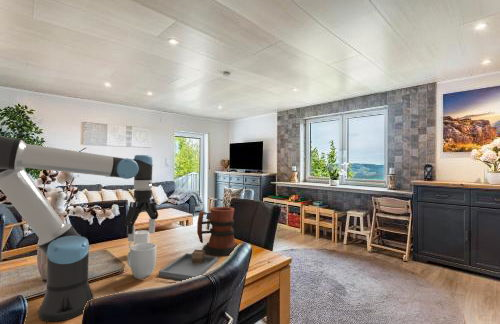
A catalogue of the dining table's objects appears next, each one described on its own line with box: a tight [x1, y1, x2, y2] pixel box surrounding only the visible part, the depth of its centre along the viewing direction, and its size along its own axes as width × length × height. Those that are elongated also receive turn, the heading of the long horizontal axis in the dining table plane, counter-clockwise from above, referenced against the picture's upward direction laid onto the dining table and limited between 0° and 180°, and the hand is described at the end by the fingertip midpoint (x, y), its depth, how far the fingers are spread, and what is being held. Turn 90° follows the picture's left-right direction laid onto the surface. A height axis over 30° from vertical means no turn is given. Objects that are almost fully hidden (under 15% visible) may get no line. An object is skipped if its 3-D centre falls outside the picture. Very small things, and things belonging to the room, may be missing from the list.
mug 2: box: [126, 242, 158, 280], centre depth 116 cm, size 15×11×13 cm
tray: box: [158, 252, 219, 282], centre depth 123 cm, size 24×18×3 cm
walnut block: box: [191, 249, 206, 264], centre depth 130 cm, size 5×5×5 cm
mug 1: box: [128, 229, 151, 249], centre depth 142 cm, size 12×8×12 cm
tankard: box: [196, 206, 239, 257], centre depth 149 cm, size 22×25×25 cm
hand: (142, 236), depth 116 cm, fingers open, 13 cm apart
